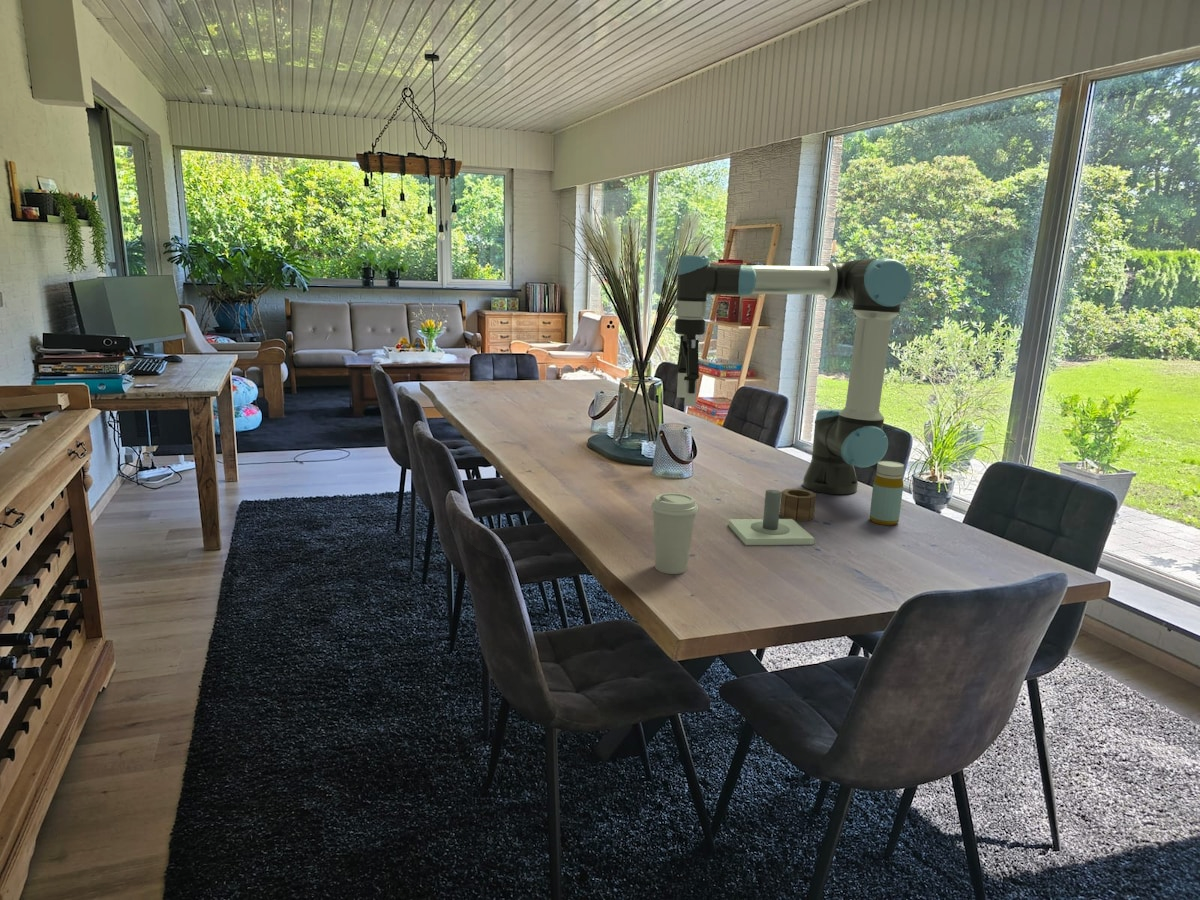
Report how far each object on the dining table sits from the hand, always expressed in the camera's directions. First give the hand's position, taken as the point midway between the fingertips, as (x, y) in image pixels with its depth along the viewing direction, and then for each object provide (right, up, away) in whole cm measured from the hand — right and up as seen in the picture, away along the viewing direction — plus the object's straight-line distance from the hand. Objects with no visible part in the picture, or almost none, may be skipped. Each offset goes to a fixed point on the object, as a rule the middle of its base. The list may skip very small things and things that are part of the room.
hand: (685, 401), depth 199 cm
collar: (+28, -29, -2) cm, 41 cm away
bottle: (+49, -31, -4) cm, 58 cm away
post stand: (+18, -32, -17) cm, 41 cm away
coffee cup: (-8, -37, -40) cm, 55 cm away
